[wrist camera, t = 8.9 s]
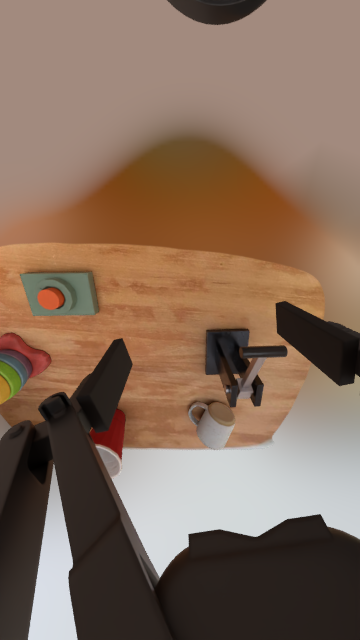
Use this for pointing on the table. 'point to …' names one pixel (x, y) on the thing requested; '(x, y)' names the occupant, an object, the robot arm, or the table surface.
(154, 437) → the table surface
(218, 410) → the ceramic mug
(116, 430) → the plastic cup
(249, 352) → the lever
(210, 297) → the table surface
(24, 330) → the table surface
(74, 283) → the control block
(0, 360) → the stacking bear
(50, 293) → the button
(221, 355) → the bracket
